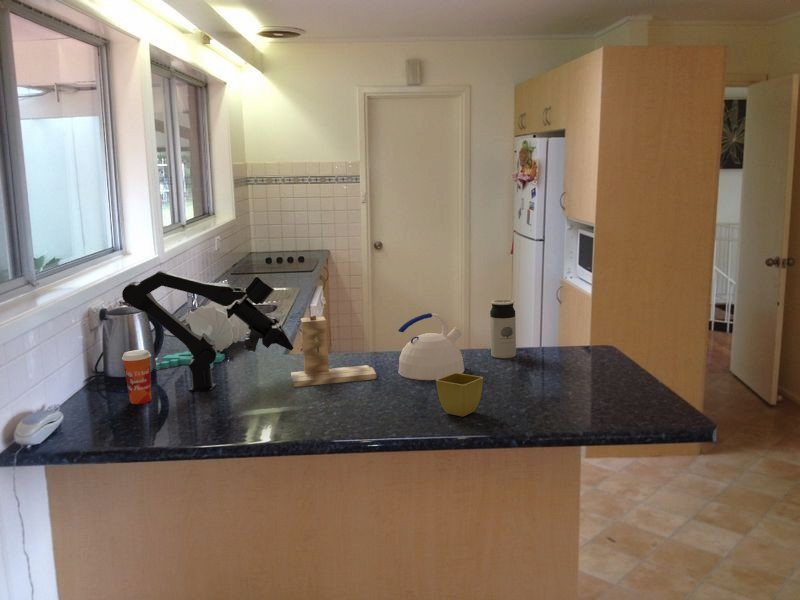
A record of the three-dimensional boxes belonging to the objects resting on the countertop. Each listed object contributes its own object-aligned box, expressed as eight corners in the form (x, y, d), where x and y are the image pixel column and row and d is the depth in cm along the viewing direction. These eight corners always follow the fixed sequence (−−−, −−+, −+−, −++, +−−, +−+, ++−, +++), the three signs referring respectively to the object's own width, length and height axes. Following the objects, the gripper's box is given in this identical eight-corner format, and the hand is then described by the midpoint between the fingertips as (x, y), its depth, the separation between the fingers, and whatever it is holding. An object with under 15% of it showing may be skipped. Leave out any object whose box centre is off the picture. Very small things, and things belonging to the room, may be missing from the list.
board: (294, 389, 212) (293, 381, 211) (290, 375, 227) (290, 367, 227) (376, 381, 216) (376, 373, 216) (368, 368, 232) (367, 360, 231)
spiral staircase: (246, 349, 282) (221, 363, 257) (204, 330, 283) (176, 342, 259) (263, 306, 279) (239, 316, 254) (221, 287, 280) (194, 294, 255)
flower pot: (456, 405, 192) (455, 371, 190) (484, 411, 186) (484, 376, 185) (436, 414, 185) (434, 380, 184) (464, 421, 180) (463, 385, 178)
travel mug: (490, 353, 244) (489, 299, 241) (514, 352, 243) (513, 298, 240) (492, 359, 236) (491, 303, 233) (517, 358, 236) (516, 303, 232)
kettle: (477, 374, 220) (475, 314, 217) (413, 384, 213) (410, 323, 209) (448, 359, 239) (446, 304, 235) (388, 368, 231) (385, 311, 228)
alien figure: (211, 370, 239) (231, 355, 258) (210, 363, 238) (230, 349, 258) (151, 371, 241) (176, 356, 261) (151, 364, 241) (175, 350, 260)
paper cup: (125, 406, 203) (119, 357, 200) (127, 398, 210) (122, 350, 208) (155, 403, 205) (150, 354, 202) (156, 395, 212) (151, 348, 210)
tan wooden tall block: (308, 386, 211) (304, 325, 208) (304, 372, 226) (300, 315, 223) (332, 384, 212) (329, 322, 209) (327, 370, 227) (323, 313, 224)
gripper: (234, 330, 226) (273, 362, 230) (233, 343, 208) (275, 377, 212) (258, 302, 226) (297, 335, 230) (259, 313, 208) (301, 348, 212)
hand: (292, 349), depth 221 cm, fingers closed
